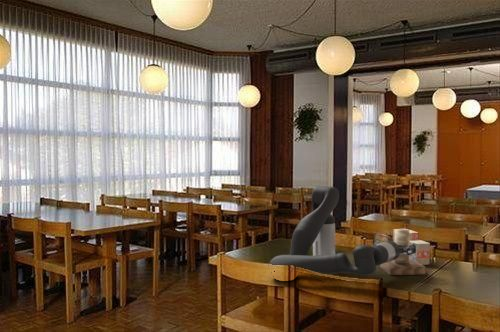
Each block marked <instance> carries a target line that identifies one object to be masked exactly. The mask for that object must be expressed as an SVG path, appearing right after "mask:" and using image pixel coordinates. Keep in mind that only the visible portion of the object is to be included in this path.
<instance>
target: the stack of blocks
mask: <svg viewBox="0 0 500 332" xmlns="http://www.w3.org/2000/svg"><path fill="white" fill-rule="evenodd" d="M395 229H396V228H393V229H392V241H393V242H395ZM405 229H406V230H409V245H412V244H415V246H416V253H414V254H411V255H409V260H415V261H417V262H418V263H420V264H422V265H423V266H426V265H430V256H431V255H430V251H431V242H428V241H424V240H422V239H420V237H419V232H417V231H414V230H412V229H408V228H405Z"/></svg>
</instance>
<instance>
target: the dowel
mask: <svg viewBox="0 0 500 332" xmlns="http://www.w3.org/2000/svg"><path fill="white" fill-rule="evenodd" d="M394 229H395V243H396V244H399V245H407V246H409V230H410V229H408V230H406V229H407V228H394ZM403 248H404V247H403ZM408 248H409V247H408ZM395 264H398V265H409V255H407V254H400V255H399V257H398V258H397V259H395Z"/></svg>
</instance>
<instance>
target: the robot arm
mask: <svg viewBox="0 0 500 332" xmlns="http://www.w3.org/2000/svg"><path fill="white" fill-rule="evenodd" d="M339 199H340V191H339V189H338V188H336V187H334V186H327V185H326V186H325V185H324V186H323V185H322V186H321V185H320V186H319V185H317V186H315V187H313V189H312V191H311V212H310V213H308V214H307V215H305V216H304V217H303V218H302V219H301V220H299V222H298V224H297V226H296V227H295V229H294V230H293V234H292V236H291V243H290V250H289V254H280V255H276V256H274V257H273V258H271V259H270V261H269V262H268V265H269V264H272V265H293V266H297V267H301V268H304V269H308V270H307V271H309V270H311V271H310V272H313V271H314V273H317V272H318V274H322V273H323V275H332V274H333V275H334V274H344V273H345V274H347V273H349V274H356V275H361V276H371V275H373V274H374V273H375V272H376V270H377V266H380V265H381V264H383V263H387V262H390V261H392V260H395V259H397V258H398V257H399V255H400V254H407V255H411V254H414V253H416V246H415V244H412V245H409V246H407V245H399V244H396V243H395V242H393V240H392V241H386V242H382V243H379V244H377V245H376V246H373V245H372V246H371V245H367V244H360V245H359V244H358V245H356V246H355V247H354V249H353V251H352V257H353V262H354V264H352V263H351V261H350V259H349V257H348V255H347V253H345V252H338V253H336V223H335V222H336V218H335V216H334V215H332V212H333V211H334V209H335V208H336V206H337V205H338V202H339ZM403 247H404V248H403ZM408 247H409V248H408ZM311 248H312V255H309V253H310V250H311ZM274 272H275V271H274Z"/></svg>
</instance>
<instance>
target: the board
mask: <svg viewBox="0 0 500 332" xmlns="http://www.w3.org/2000/svg"><path fill="white" fill-rule="evenodd" d="M379 267H380V269H381V270H382V271H384V272H385V273H386V274H388V275H389V276H407V275H426V265H422V264H420V263H418V262H417V261H415V260H409V265H398V264H395V260H392V261H390V262H387V263H383V264H381V265H379Z"/></svg>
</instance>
